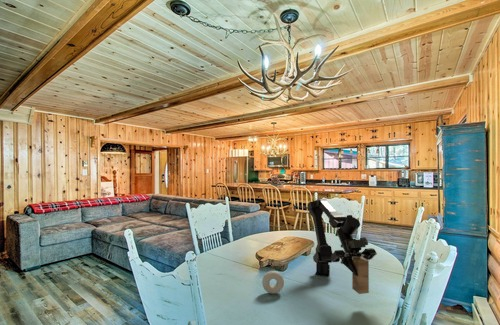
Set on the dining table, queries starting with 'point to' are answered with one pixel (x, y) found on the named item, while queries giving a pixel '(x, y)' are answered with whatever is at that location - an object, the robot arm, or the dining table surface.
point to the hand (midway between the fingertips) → (362, 275)
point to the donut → (275, 288)
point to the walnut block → (361, 275)
